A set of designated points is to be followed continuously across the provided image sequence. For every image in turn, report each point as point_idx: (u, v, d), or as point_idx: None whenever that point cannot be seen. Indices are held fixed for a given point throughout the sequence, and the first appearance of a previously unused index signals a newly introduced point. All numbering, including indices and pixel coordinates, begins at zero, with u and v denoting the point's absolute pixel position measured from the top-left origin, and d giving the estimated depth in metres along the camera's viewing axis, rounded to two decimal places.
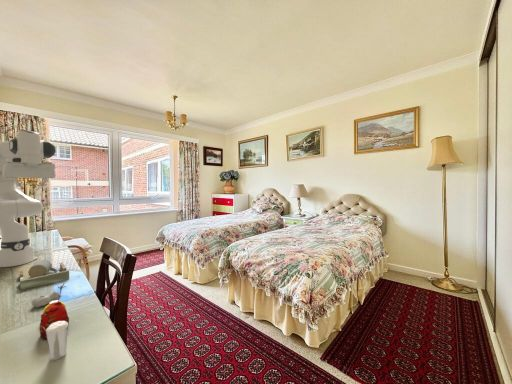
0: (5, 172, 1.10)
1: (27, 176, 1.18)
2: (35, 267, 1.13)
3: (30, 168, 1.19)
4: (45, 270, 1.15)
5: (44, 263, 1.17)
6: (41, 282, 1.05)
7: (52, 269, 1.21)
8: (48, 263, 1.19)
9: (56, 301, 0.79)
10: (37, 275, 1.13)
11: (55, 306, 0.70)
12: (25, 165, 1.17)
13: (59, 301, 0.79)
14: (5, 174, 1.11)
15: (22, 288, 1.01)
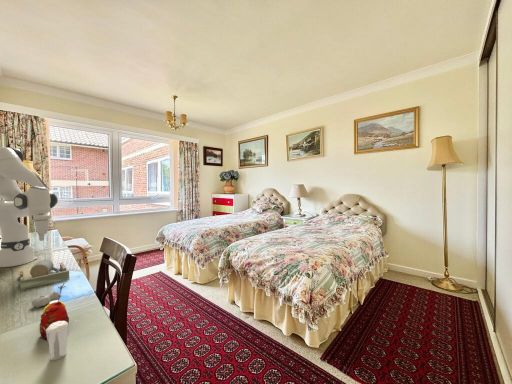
0: (47, 229, 1.18)
1: None
2: (37, 267, 1.13)
3: None
4: (47, 270, 1.15)
5: (46, 263, 1.17)
6: (41, 282, 1.05)
7: (54, 269, 1.21)
8: (50, 262, 1.20)
9: (56, 301, 0.79)
10: (39, 275, 1.14)
11: (55, 306, 0.70)
12: None
13: (59, 301, 0.79)
14: None
15: (22, 288, 1.01)
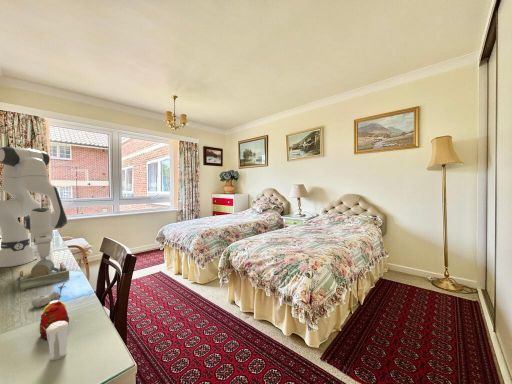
0: (49, 251, 1.19)
1: None
2: (37, 267, 1.13)
3: None
4: (47, 270, 1.15)
5: (46, 263, 1.17)
6: (41, 282, 1.05)
7: (54, 269, 1.21)
8: (50, 262, 1.20)
9: (56, 301, 0.79)
10: (39, 275, 1.14)
11: (55, 306, 0.70)
12: None
13: (59, 301, 0.79)
14: (49, 253, 1.19)
15: (22, 288, 1.01)
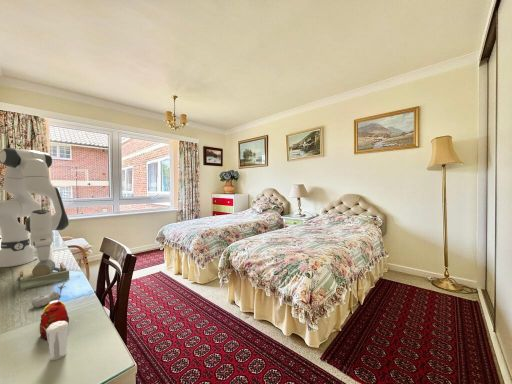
0: None
1: None
2: (39, 267, 1.13)
3: None
4: (49, 270, 1.15)
5: (48, 263, 1.17)
6: (41, 282, 1.05)
7: (55, 269, 1.21)
8: (52, 262, 1.19)
9: (56, 301, 0.79)
10: (41, 275, 1.13)
11: (55, 306, 0.70)
12: None
13: (59, 301, 0.79)
14: (48, 257, 1.16)
15: (22, 288, 1.01)
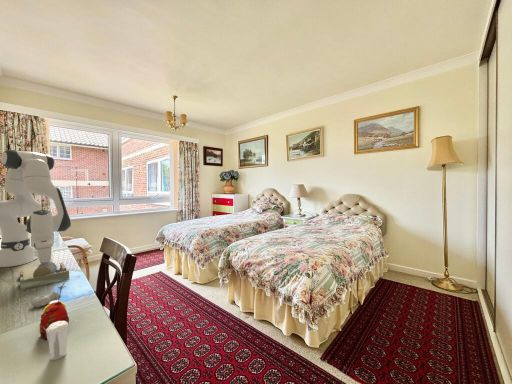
0: (50, 257, 1.12)
1: None
2: (40, 269, 1.09)
3: None
4: (50, 272, 1.11)
5: (49, 265, 1.13)
6: (41, 282, 1.05)
7: (57, 271, 1.17)
8: (53, 265, 1.16)
9: (56, 301, 0.79)
10: None
11: (55, 306, 0.70)
12: None
13: (59, 301, 0.79)
14: None
15: (22, 288, 1.01)
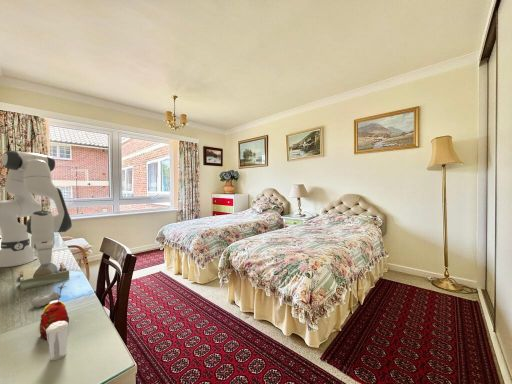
0: (50, 259, 1.10)
1: None
2: (40, 271, 1.07)
3: None
4: None
5: (49, 266, 1.11)
6: (41, 282, 1.05)
7: None
8: (54, 266, 1.14)
9: (56, 301, 0.79)
10: None
11: (55, 306, 0.70)
12: None
13: (59, 301, 0.79)
14: (50, 261, 1.10)
15: (22, 288, 1.01)
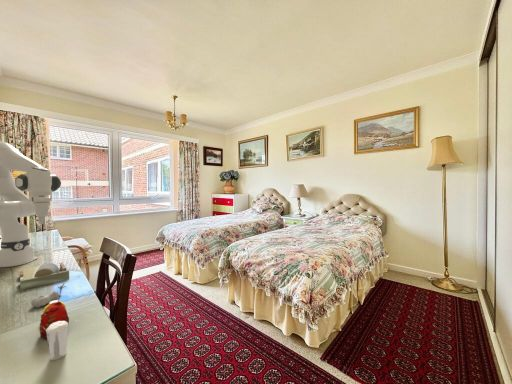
0: (47, 212, 1.14)
1: None
2: (41, 271, 1.07)
3: None
4: None
5: (51, 266, 1.11)
6: (41, 282, 1.05)
7: None
8: (55, 266, 1.14)
9: (56, 301, 0.79)
10: None
11: (55, 306, 0.70)
12: None
13: (59, 301, 0.79)
14: (47, 213, 1.14)
15: (22, 288, 1.01)
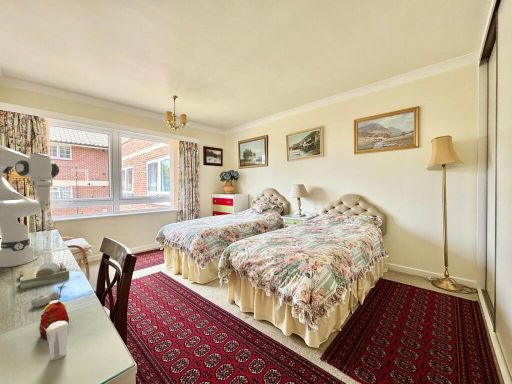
0: (48, 195, 1.18)
1: None
2: (43, 271, 1.08)
3: None
4: None
5: (52, 266, 1.12)
6: (41, 282, 1.05)
7: None
8: (56, 266, 1.14)
9: (56, 301, 0.79)
10: None
11: (55, 306, 0.70)
12: None
13: (59, 301, 0.79)
14: (48, 197, 1.18)
15: (22, 288, 1.01)
